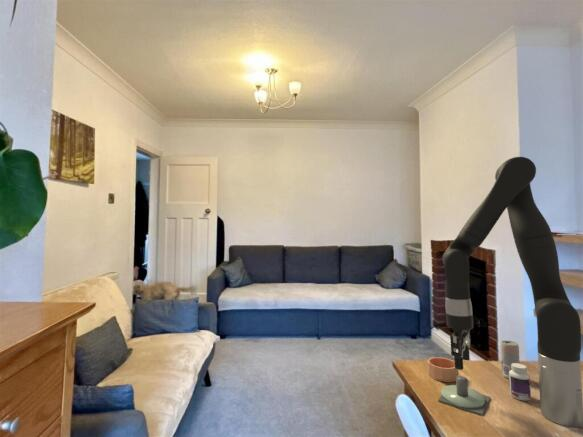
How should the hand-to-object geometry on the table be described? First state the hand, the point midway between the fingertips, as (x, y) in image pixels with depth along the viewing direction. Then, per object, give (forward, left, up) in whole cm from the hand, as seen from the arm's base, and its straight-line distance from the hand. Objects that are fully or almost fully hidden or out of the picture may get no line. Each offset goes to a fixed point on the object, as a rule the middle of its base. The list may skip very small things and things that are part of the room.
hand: (462, 364), depth 99 cm
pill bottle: (-13, -13, -11) cm, 22 cm away
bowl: (+10, -13, -11) cm, 20 cm away
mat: (0, 0, -11) cm, 11 cm away
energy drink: (-9, -27, -11) cm, 31 cm away
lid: (0, 0, -11) cm, 11 cm away
